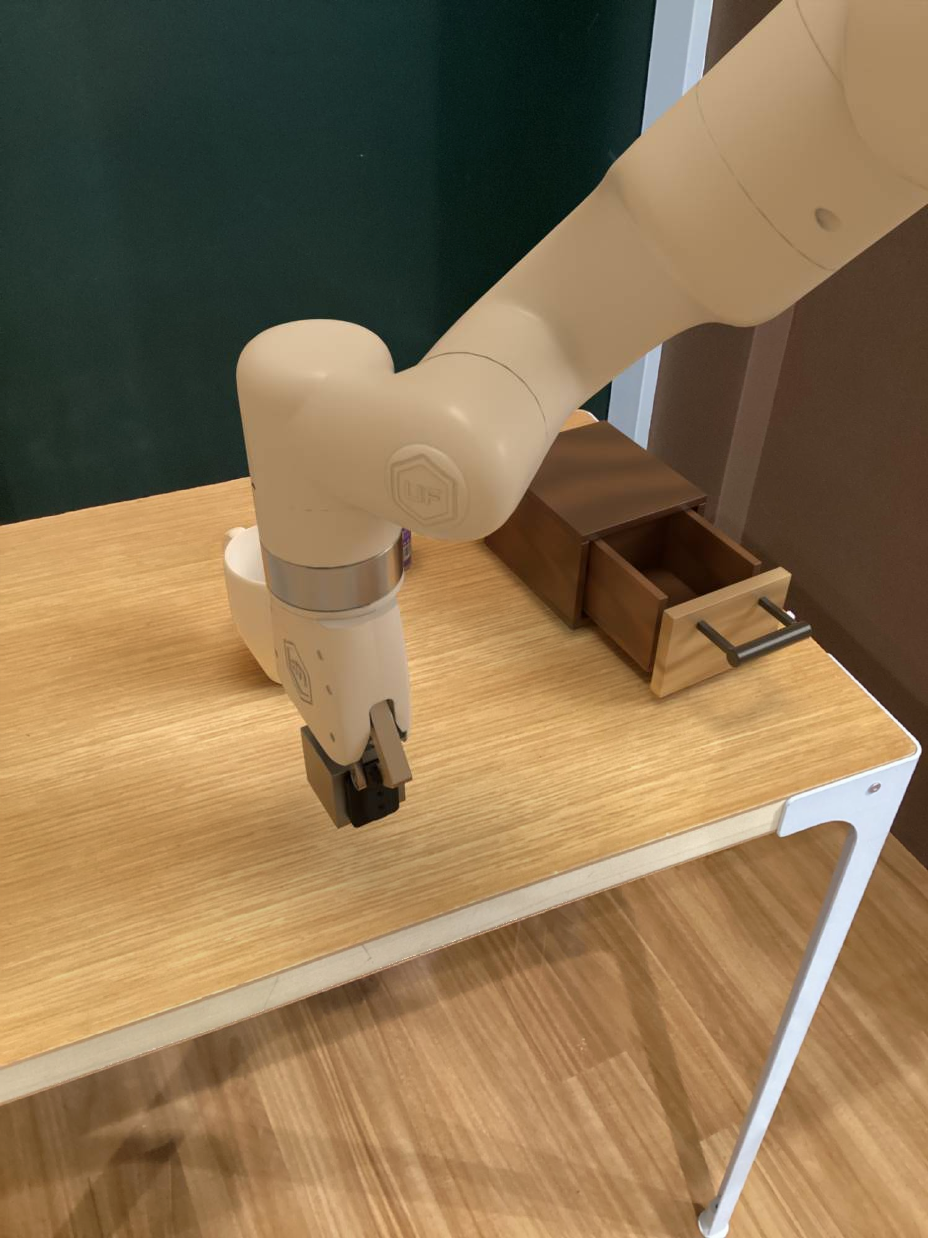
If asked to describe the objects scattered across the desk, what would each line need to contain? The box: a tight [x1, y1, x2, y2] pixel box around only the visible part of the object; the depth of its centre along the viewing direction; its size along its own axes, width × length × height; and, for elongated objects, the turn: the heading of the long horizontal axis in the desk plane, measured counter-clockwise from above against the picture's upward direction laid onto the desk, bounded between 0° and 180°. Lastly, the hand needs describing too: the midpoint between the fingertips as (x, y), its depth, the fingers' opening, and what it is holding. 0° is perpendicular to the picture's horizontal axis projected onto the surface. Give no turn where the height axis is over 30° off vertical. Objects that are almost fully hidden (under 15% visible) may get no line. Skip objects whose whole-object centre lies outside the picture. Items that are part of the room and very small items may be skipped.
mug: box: [221, 524, 282, 685], centre depth 83 cm, size 12×8×11 cm
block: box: [299, 724, 407, 830], centre depth 67 cm, size 5×5×5 cm
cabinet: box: [483, 419, 708, 631], centre depth 94 cm, size 15×13×10 cm
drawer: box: [582, 508, 813, 699], centre depth 85 cm, size 18×11×8 cm, turn 30°
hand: (355, 785), depth 69 cm, fingers closed on block, 4 cm apart
